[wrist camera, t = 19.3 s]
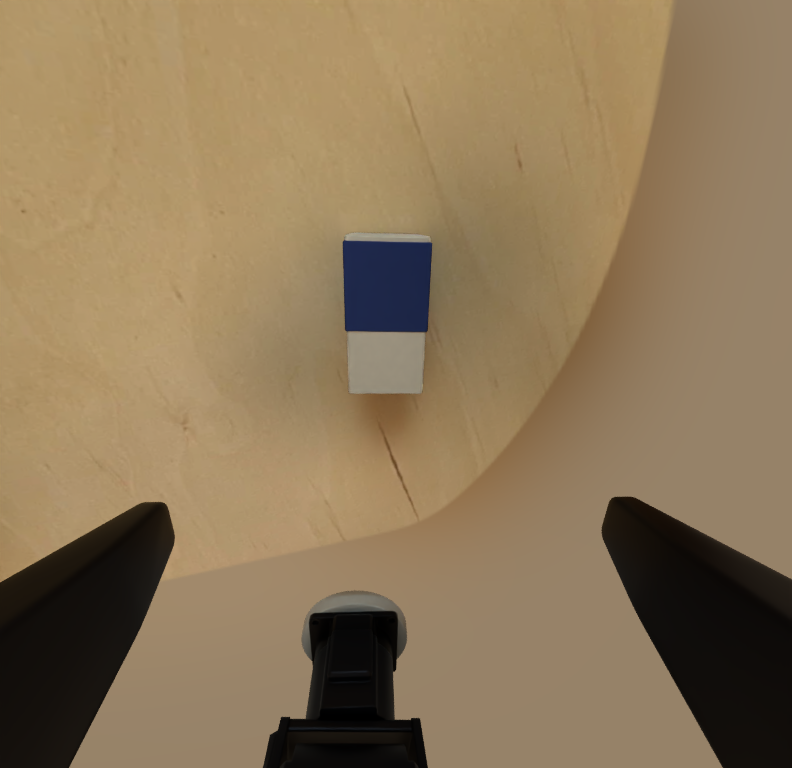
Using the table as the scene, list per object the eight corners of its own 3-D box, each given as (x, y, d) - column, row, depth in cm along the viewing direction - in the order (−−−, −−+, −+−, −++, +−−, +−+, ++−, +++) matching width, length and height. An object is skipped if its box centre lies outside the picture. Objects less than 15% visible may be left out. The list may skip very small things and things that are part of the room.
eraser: (414, 362, 19) (424, 395, 16) (353, 361, 19) (346, 395, 15) (420, 233, 17) (432, 236, 13) (350, 232, 17) (342, 234, 13)
